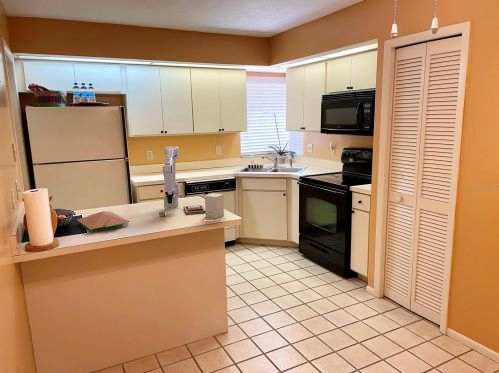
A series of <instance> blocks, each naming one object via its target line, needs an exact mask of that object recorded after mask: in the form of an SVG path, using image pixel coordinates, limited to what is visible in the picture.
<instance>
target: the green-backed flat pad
mask: <svg viewBox="0 0 499 373" xmlns="http://www.w3.org/2000/svg"><path fill="white" fill-rule="evenodd" d="M76 220H77V222H79V223H81V226H82V228H84V229H85V230H86V231H88V232H89V233H91V234H93V233H95V232H96V233H97V231H98V230H96V229H99V231H101V230H102V232H104V231H108V230H110V231H112V230H114V228H115V230H117V229H118V227H120V228H122V227H123V226H124V227H127V225H129V222H131V221H130V220H127V219H126V218H124V217H122V216H120V215H118V214H116V213H114V212H112V211H108V210H107V211H104V210H103V211H100V212H96V213H93V214H90V215H87V216H85V217H81V218H77V219H76Z"/></svg>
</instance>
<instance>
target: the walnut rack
mask: <svg viewBox="0 0 499 373" xmlns="http://www.w3.org/2000/svg"><path fill="white" fill-rule="evenodd" d="M191 206H192V205H188V206H186V205H185V206H183V210H184V212H185V214H186V216H187V215H198V214H199V215H200V214H206V213H205V206H203V205H200V204H199V205H197V206H200V207H201V208H196V209H187V207H191Z"/></svg>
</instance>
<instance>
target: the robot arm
mask: <svg viewBox="0 0 499 373" xmlns="http://www.w3.org/2000/svg"><path fill="white" fill-rule="evenodd" d="M163 151H164V152H163V154H164V157H165V159H164V165H162V174H163V180H164V181H163V183H164V194H165V195H164V196H166V197H167V200H168V204H172V198H173V195H176V205H177V207H169V209H173V208H178V207H179V195H181V194H180V193H181V187H180V184H179V183H178V182H177V181H176V180H177V179H176V178H177V177H176V162H177V160H178V159H179V157H180V156H179V154H180V150H179V146H164V148H163Z"/></svg>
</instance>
